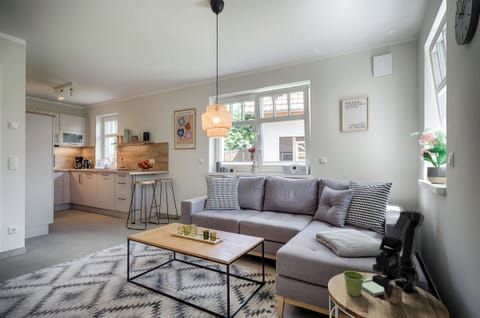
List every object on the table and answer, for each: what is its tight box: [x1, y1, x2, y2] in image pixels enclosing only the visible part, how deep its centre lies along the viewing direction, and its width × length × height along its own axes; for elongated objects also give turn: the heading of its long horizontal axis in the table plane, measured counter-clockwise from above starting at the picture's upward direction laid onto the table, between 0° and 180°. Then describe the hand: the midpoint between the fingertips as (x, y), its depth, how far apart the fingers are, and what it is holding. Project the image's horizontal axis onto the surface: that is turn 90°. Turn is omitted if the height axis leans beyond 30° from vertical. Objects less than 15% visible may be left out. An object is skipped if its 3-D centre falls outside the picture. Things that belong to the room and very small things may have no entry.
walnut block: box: [383, 282, 403, 304], centre depth 112 cm, size 5×5×6 cm
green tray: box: [361, 277, 384, 297], centre depth 122 cm, size 12×12×2 cm
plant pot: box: [342, 270, 365, 297], centre depth 118 cm, size 9×9×9 cm
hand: (393, 297), depth 112 cm, fingers closed on walnut block, 5 cm apart
